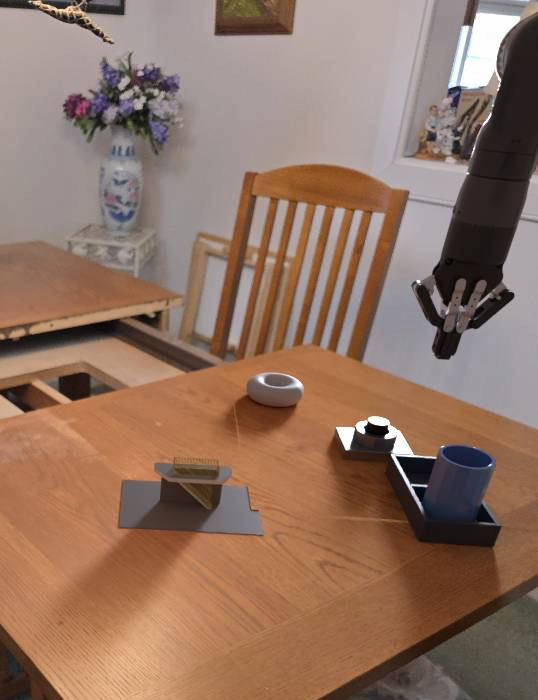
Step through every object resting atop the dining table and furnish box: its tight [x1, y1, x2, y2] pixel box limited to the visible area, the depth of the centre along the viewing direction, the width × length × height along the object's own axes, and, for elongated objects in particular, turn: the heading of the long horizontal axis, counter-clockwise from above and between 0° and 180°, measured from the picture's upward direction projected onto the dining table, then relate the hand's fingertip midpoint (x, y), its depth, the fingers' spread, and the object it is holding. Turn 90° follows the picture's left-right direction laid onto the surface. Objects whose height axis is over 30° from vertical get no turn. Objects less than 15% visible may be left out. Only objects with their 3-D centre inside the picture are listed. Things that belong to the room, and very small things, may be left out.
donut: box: [245, 372, 305, 408], centre depth 122 cm, size 10×4×10 cm
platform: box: [118, 456, 265, 536], centre depth 90 cm, size 12×18×7 cm, turn 88°
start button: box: [365, 416, 391, 435], centre depth 106 cm, size 3×3×2 cm
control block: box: [333, 420, 415, 464], centre depth 107 cm, size 10×8×4 cm
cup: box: [421, 443, 497, 522], centre depth 88 cm, size 7×7×9 cm
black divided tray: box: [384, 454, 503, 548], centre depth 94 cm, size 9×18×3 cm, turn 177°
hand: (441, 357), depth 95 cm, fingers closed
